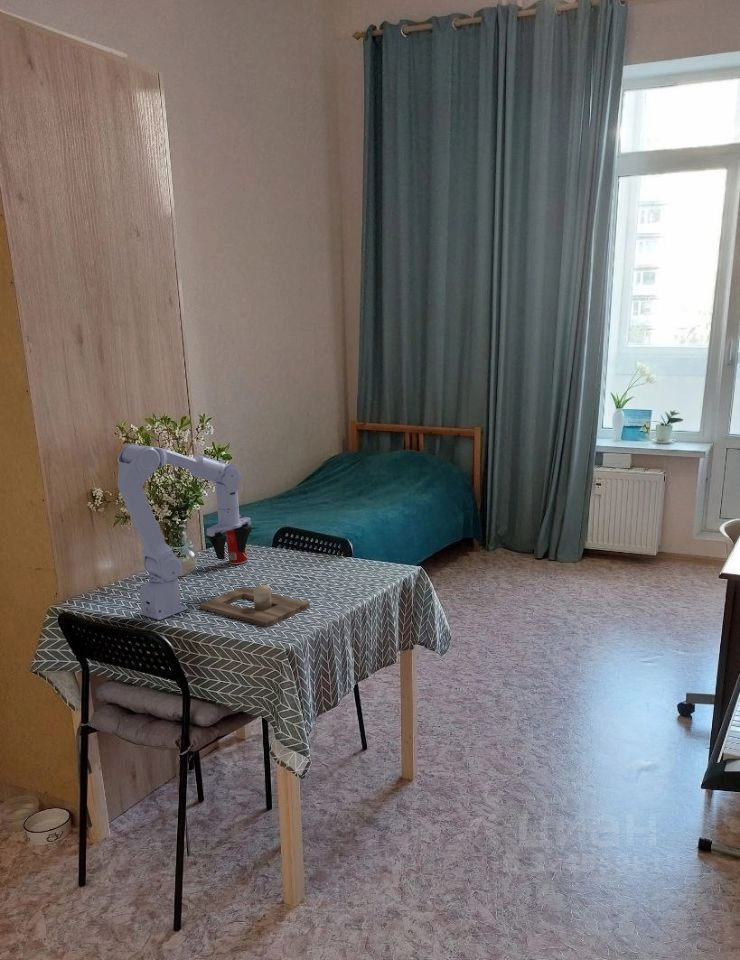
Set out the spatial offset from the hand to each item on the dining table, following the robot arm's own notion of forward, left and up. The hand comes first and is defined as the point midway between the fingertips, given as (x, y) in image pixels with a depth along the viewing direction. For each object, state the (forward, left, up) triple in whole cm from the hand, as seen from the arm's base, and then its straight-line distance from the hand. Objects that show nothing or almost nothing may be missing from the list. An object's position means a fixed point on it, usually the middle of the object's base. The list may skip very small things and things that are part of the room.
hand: (231, 555), depth 203 cm
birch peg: (-6, -17, -10) cm, 21 cm away
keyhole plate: (-6, -14, -10) cm, 18 cm away
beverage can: (+20, +19, -11) cm, 30 cm away
